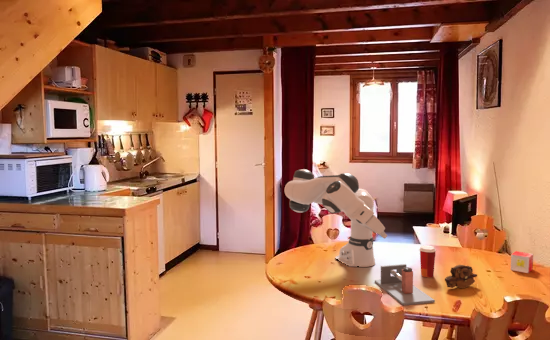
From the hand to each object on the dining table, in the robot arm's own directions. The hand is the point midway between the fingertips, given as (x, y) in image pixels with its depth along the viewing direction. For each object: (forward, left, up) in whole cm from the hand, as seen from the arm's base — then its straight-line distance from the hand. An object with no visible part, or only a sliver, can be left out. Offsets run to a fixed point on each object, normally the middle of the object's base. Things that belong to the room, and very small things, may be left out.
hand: (380, 234), depth 186 cm
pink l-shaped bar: (-2, +14, -26) cm, 30 cm away
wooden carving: (+13, +38, -28) cm, 49 cm away
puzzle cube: (+16, +84, -28) cm, 90 cm away
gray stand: (+1, +13, -27) cm, 30 cm away
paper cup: (-6, +39, -28) cm, 48 cm away
